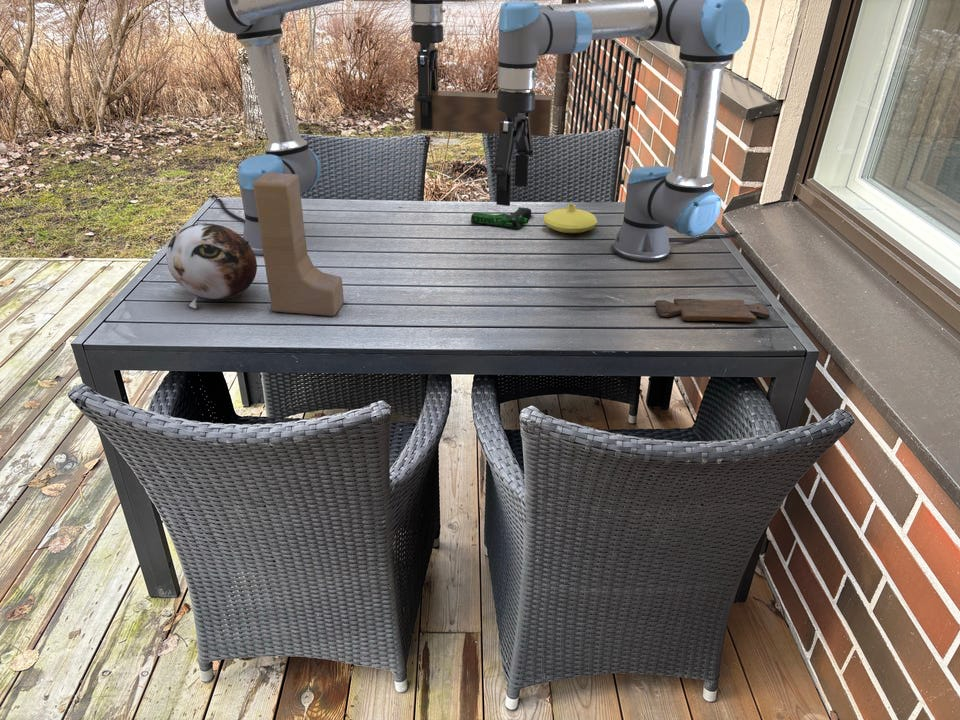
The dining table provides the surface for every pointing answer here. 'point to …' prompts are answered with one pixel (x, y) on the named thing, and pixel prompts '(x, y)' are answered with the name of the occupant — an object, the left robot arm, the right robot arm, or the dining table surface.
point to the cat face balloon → (211, 261)
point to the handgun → (504, 218)
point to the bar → (478, 113)
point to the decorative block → (291, 251)
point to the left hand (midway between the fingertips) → (429, 125)
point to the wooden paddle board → (712, 310)
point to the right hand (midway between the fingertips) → (512, 195)
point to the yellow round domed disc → (570, 220)
